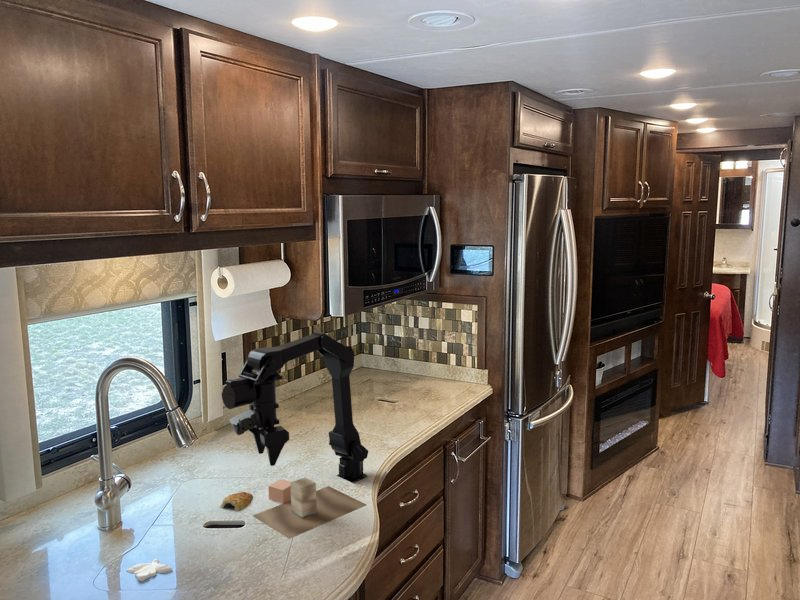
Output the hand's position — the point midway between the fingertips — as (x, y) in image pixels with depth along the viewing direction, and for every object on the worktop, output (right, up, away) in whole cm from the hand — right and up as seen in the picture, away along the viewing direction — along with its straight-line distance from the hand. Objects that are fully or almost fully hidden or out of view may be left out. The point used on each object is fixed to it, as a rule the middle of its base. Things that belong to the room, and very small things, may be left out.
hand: (266, 459), depth 162 cm
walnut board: (+11, -14, +1) cm, 18 cm away
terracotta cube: (+3, -13, +8) cm, 16 cm away
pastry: (-9, -14, +5) cm, 18 cm away
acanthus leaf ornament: (-20, -19, -23) cm, 36 cm away
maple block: (+10, -13, -1) cm, 16 cm away
